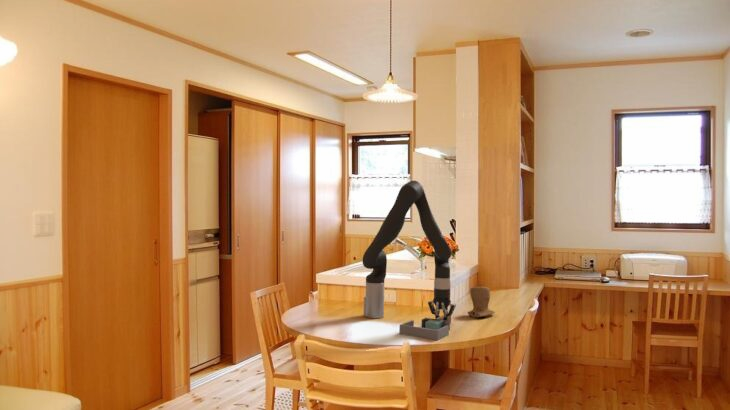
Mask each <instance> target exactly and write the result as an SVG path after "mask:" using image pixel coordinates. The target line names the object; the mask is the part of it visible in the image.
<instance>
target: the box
mask: <svg viewBox="0 0 730 410" xmlns="http://www.w3.org/2000/svg"><path fill="white" fill-rule="evenodd" d="M414 324H415V322H414V320H413V319H410V320H408V321H405V322H403V323H401V324H399V332H398V334H399V335H405V336H411V337H415V338H422V339H427V340H433V341H439V340H441V339H443V338H445V337H447V336H448V335H449V333H450V332H449V331H450V330H449V326H447V325H446V326H444V327H442V328H440V329H437V330H434V329H427V328H421V326H414Z"/></svg>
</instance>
